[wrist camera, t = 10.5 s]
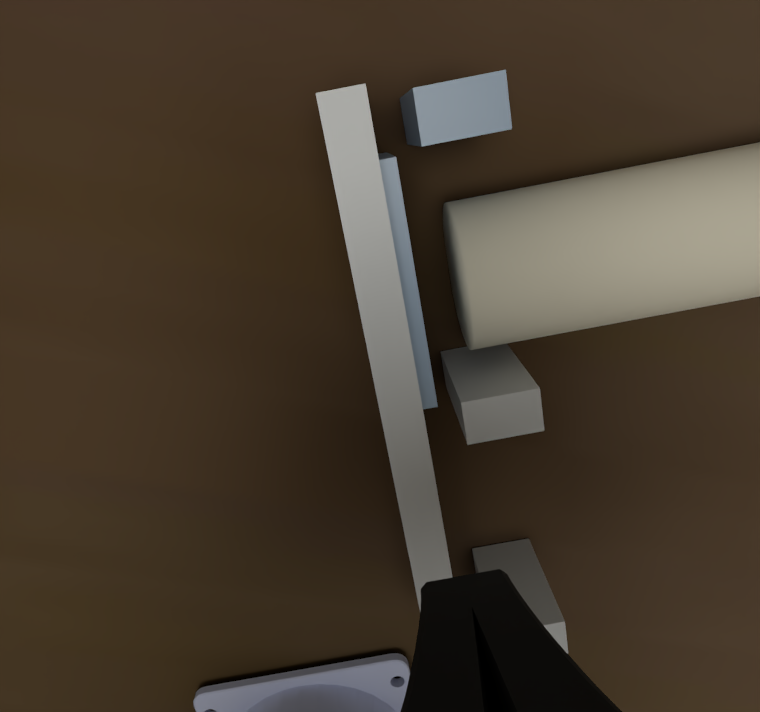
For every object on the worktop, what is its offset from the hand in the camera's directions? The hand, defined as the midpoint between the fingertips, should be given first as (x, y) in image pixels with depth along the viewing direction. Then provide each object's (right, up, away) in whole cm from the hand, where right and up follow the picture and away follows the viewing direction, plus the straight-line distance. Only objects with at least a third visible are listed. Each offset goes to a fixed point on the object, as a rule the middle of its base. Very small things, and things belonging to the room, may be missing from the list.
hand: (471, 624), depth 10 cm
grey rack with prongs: (+1, +4, +9) cm, 10 cm away
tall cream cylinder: (+6, +9, +8) cm, 14 cm away
